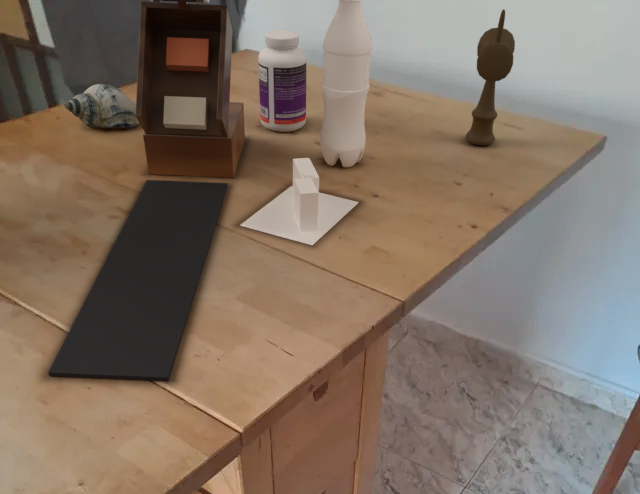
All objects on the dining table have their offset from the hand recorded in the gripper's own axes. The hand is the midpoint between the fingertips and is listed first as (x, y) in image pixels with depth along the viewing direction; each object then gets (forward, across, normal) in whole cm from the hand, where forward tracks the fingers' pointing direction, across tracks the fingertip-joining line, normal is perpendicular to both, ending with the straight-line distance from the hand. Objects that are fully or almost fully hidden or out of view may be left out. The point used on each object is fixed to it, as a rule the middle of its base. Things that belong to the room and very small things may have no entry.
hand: (180, 1), depth 92 cm
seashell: (+22, -18, +16) cm, 33 cm away
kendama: (+23, +46, +14) cm, 54 cm away
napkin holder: (+22, +17, -15) cm, 32 cm away
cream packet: (+14, 0, -3) cm, 14 cm away
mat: (+22, 0, -30) cm, 37 cm away
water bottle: (+23, +23, +4) cm, 32 cm away
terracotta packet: (+8, 0, +3) cm, 8 cm away
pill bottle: (+23, +12, +18) cm, 32 cm away
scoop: (+10, 0, +1) cm, 10 cm away
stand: (+22, 0, +4) cm, 23 cm away
